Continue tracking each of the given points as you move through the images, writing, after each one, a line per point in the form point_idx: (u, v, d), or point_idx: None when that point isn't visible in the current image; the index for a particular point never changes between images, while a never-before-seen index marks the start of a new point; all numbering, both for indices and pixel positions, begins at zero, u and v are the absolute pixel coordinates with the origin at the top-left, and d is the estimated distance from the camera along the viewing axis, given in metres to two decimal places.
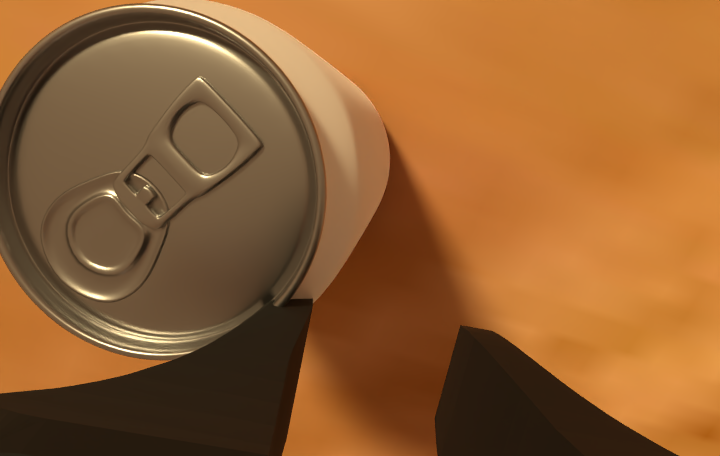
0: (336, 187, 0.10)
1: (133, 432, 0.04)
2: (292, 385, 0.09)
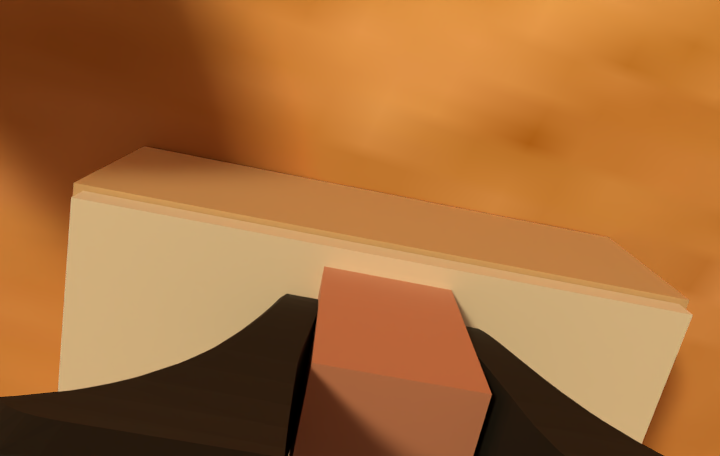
0: None
1: (151, 433, 0.04)
2: (299, 386, 0.09)
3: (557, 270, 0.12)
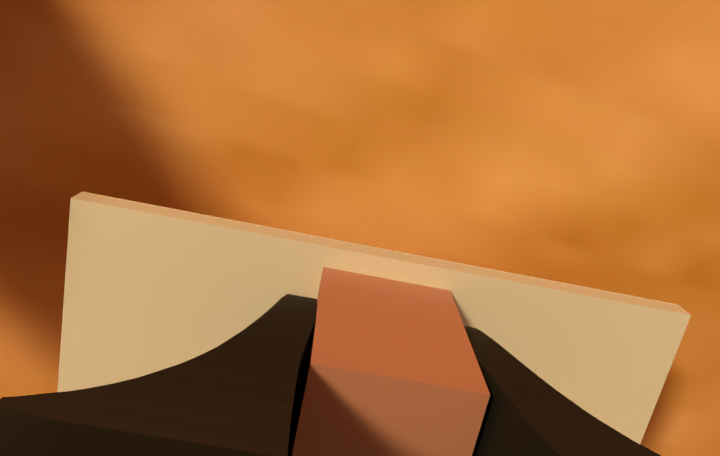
0: None
1: (153, 433, 0.04)
2: (300, 386, 0.09)
3: None
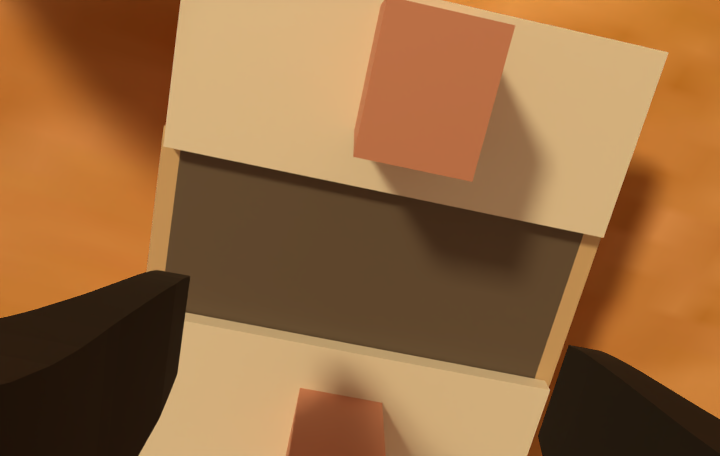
0: None
1: None
2: (147, 360, 0.09)
3: None
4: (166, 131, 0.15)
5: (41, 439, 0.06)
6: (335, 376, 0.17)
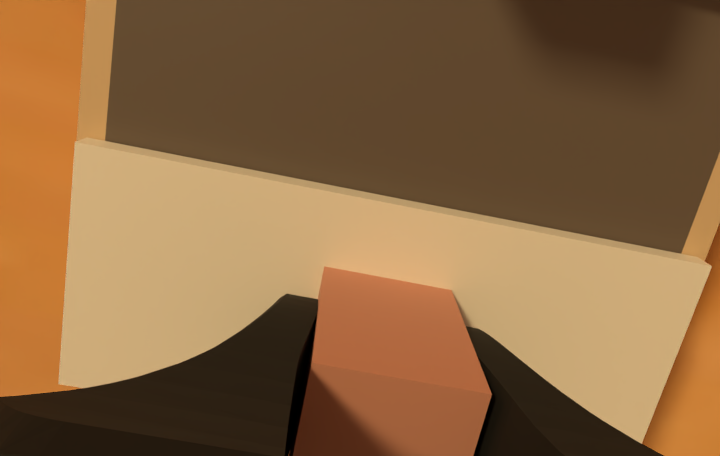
0: None
1: (150, 433, 0.04)
2: (299, 386, 0.09)
3: None
4: None
5: None
6: (379, 247, 0.11)
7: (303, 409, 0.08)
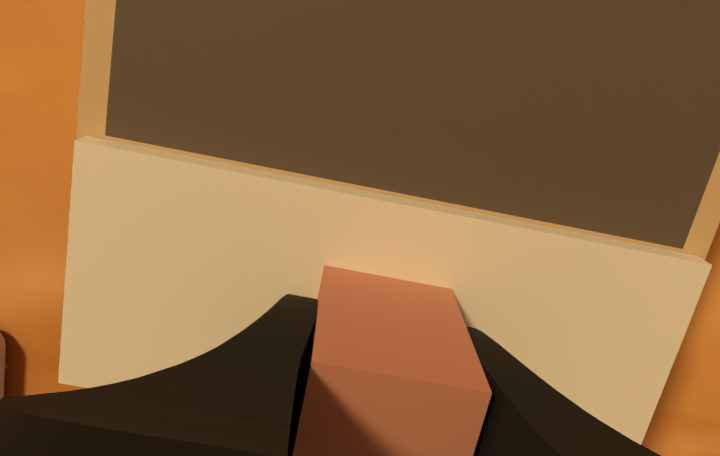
0: None
1: (152, 435, 0.04)
2: (300, 387, 0.09)
3: None
4: None
5: None
6: (379, 246, 0.11)
7: (303, 407, 0.08)
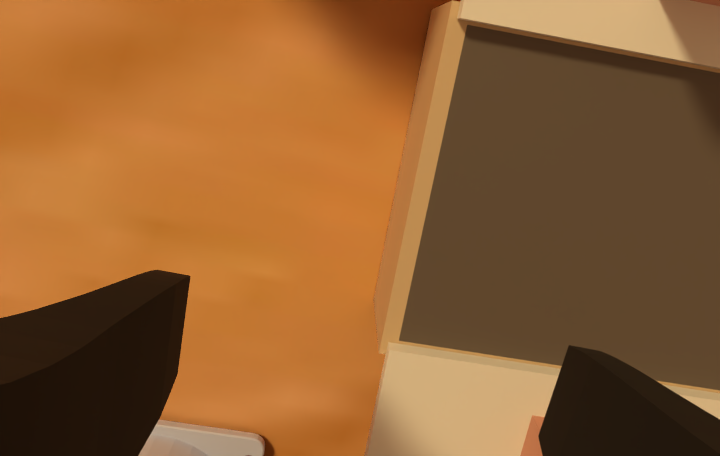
0: None
1: None
2: (147, 360, 0.09)
3: None
4: (465, 1, 0.15)
5: (40, 438, 0.06)
6: None
7: None
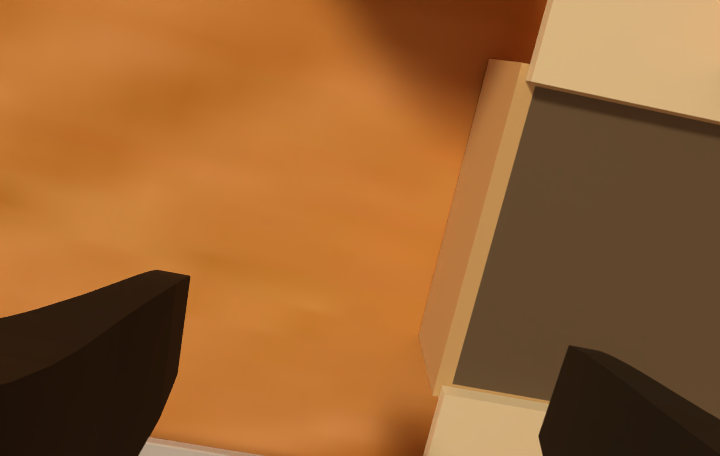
0: None
1: None
2: (147, 360, 0.09)
3: None
4: (536, 66, 0.15)
5: (41, 439, 0.06)
6: None
7: None
